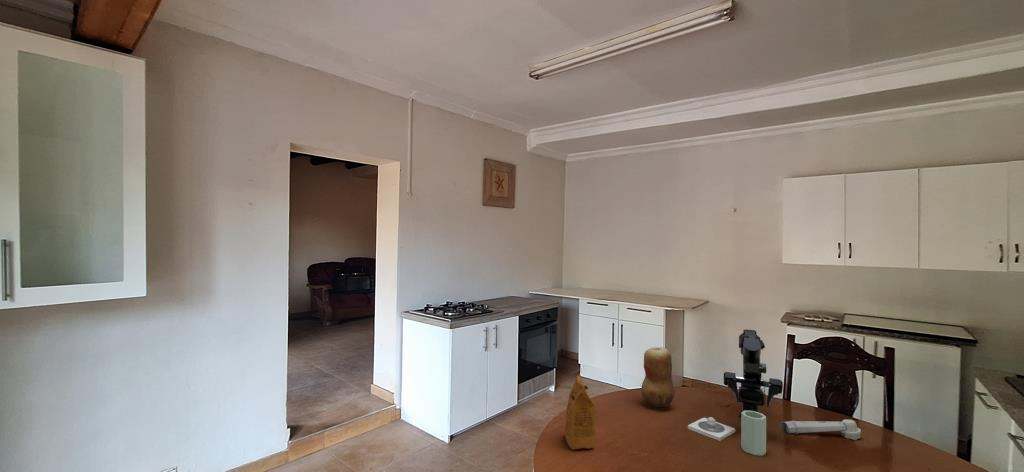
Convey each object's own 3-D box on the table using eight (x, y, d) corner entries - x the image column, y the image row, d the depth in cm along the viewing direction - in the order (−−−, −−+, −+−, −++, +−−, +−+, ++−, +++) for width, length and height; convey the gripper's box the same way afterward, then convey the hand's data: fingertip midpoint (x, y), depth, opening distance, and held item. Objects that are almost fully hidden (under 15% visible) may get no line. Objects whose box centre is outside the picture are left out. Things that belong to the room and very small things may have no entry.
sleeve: (747, 443, 145) (747, 409, 145) (768, 451, 140) (768, 415, 140) (738, 449, 141) (738, 413, 141) (760, 457, 135) (760, 420, 136)
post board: (703, 420, 163) (703, 408, 163) (735, 431, 154) (735, 418, 154) (687, 428, 156) (687, 415, 156) (719, 441, 146) (719, 427, 146)
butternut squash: (635, 401, 182) (636, 344, 182) (662, 398, 185) (662, 343, 186) (653, 414, 169) (654, 353, 169) (682, 411, 172) (682, 351, 172)
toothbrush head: (780, 418, 157) (853, 414, 153) (782, 436, 157) (855, 432, 153) (787, 424, 152) (862, 421, 148) (789, 443, 151) (865, 439, 147)
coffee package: (590, 434, 150) (591, 374, 151) (597, 451, 138) (598, 386, 138) (563, 433, 150) (564, 373, 151) (567, 451, 138) (568, 385, 138)
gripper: (723, 350, 156) (723, 388, 146) (782, 357, 147) (785, 398, 137) (724, 365, 163) (723, 403, 153) (780, 373, 154) (783, 413, 144)
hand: (752, 404), depth 147 cm, fingers open, 9 cm apart
